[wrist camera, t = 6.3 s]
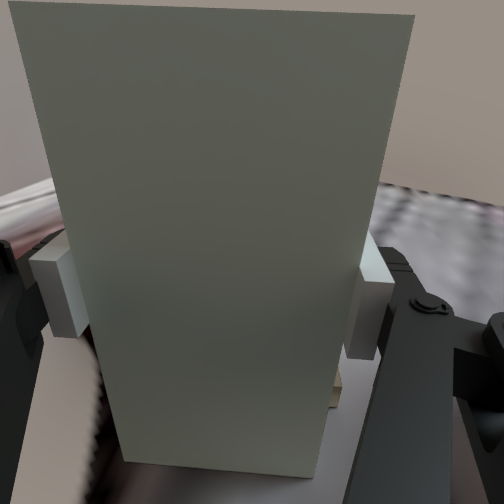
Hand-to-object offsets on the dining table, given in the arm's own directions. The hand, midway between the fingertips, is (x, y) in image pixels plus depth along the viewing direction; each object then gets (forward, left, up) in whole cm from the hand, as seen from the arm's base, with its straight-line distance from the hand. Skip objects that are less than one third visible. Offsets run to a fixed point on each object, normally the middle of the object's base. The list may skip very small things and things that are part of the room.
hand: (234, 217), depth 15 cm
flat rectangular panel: (-3, +4, -9) cm, 10 cm away
